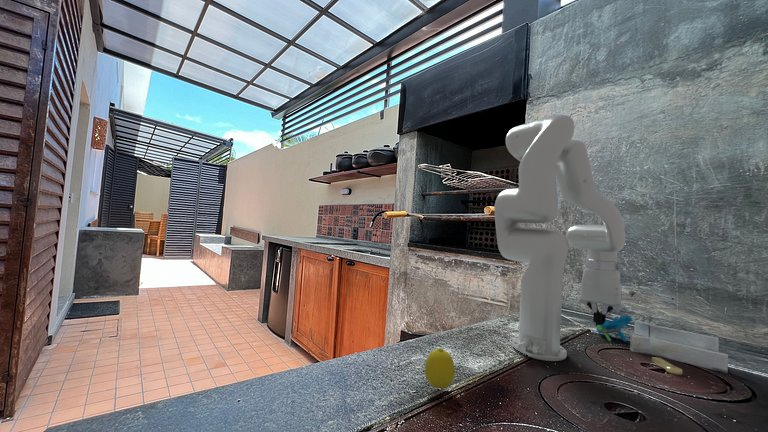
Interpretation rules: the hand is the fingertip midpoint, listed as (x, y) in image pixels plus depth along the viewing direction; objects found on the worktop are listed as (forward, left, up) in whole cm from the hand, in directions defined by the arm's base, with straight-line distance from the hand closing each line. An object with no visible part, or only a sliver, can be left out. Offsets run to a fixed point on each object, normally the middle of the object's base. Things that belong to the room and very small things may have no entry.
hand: (599, 325), depth 94 cm
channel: (0, -17, -2) cm, 17 cm away
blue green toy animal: (-1, -3, -3) cm, 5 cm away
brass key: (-15, -15, -2) cm, 21 cm away
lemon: (-64, +17, -3) cm, 66 cm away
